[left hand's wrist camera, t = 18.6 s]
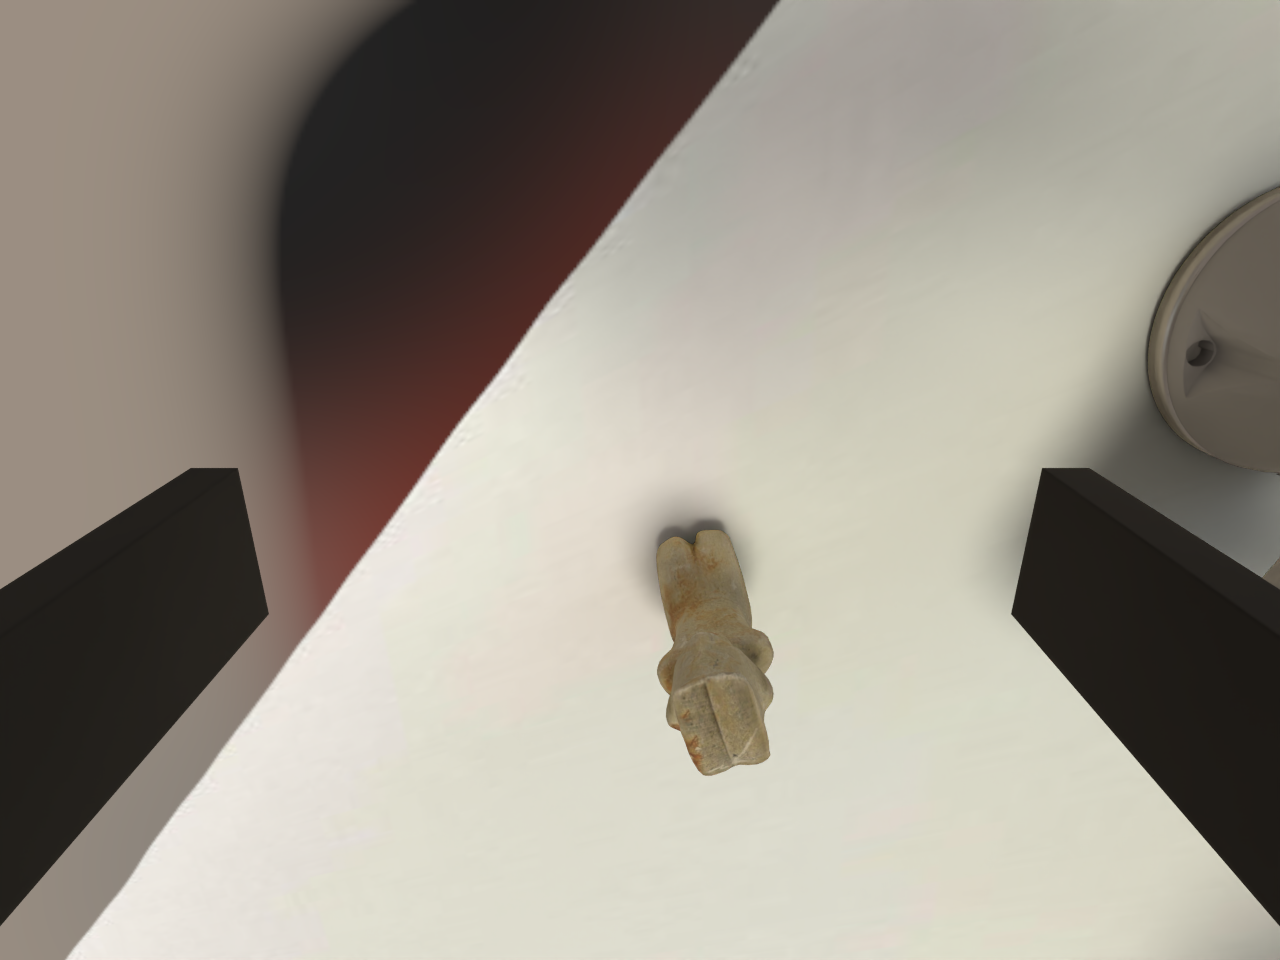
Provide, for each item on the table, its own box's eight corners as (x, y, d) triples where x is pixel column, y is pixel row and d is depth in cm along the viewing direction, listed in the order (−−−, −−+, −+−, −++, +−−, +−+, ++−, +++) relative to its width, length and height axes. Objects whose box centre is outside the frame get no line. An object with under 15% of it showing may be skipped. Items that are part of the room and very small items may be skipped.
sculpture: (739, 514, 44) (785, 668, 30) (758, 617, 47) (809, 803, 33) (642, 533, 44) (643, 693, 31) (666, 634, 47) (677, 824, 33)
